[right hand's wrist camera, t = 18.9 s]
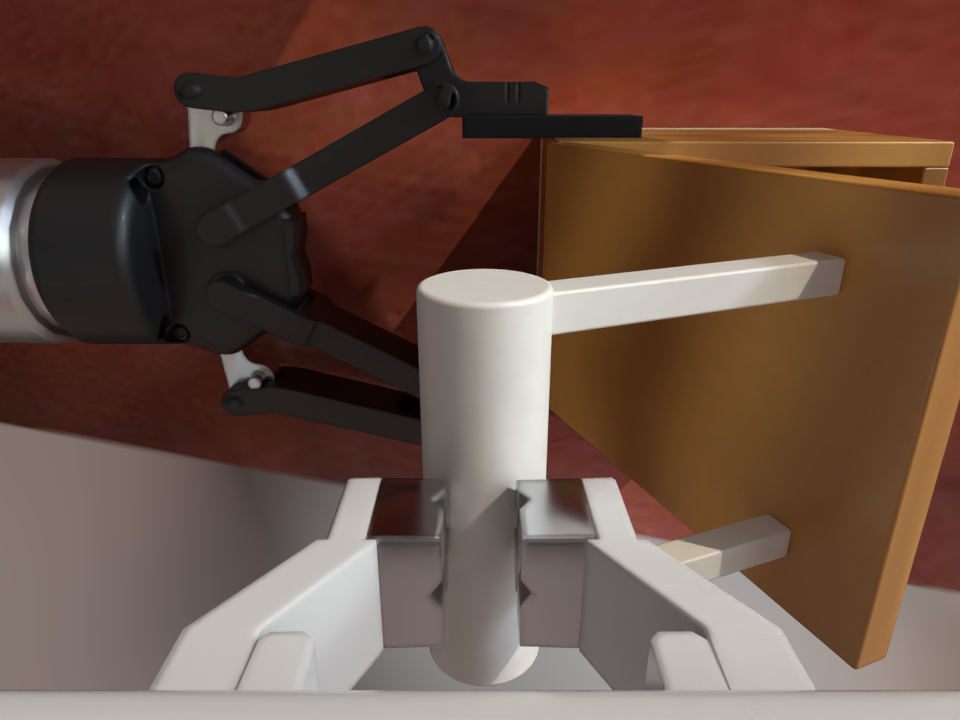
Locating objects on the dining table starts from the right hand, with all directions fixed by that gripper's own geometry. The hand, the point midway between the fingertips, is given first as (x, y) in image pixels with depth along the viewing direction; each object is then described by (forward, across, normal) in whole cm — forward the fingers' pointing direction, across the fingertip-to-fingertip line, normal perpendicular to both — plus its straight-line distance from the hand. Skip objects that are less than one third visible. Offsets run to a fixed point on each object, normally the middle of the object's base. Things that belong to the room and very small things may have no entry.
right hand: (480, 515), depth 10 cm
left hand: (+18, -6, 0) cm, 19 cm away
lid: (+8, -6, 0) cm, 10 cm away
